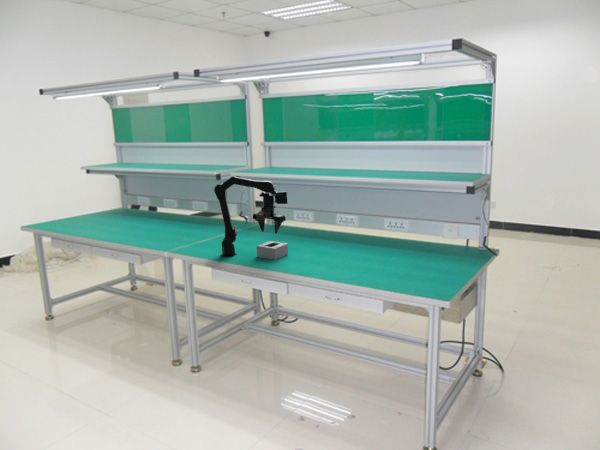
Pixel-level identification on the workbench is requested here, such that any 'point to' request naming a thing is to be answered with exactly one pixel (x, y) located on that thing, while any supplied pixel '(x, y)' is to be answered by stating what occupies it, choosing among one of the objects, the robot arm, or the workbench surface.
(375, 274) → the workbench surface
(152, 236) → the workbench surface
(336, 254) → the workbench surface
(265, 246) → the slot box
